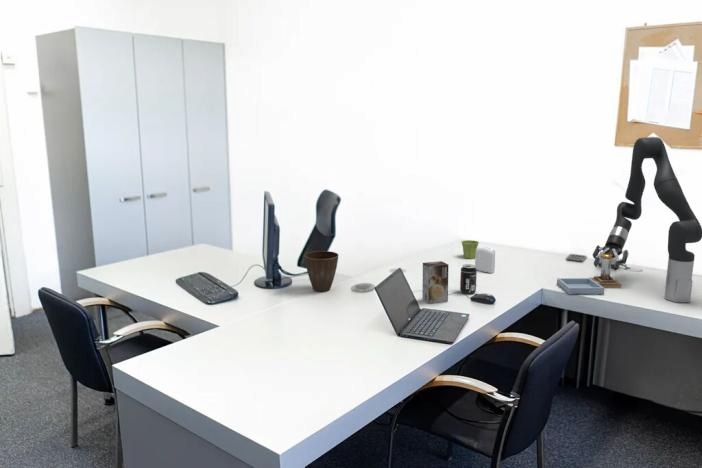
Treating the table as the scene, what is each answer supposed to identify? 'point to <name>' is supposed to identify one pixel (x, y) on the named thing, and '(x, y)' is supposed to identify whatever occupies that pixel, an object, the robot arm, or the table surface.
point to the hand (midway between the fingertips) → (604, 267)
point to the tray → (580, 286)
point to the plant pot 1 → (321, 269)
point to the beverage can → (468, 279)
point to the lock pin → (606, 266)
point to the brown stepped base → (607, 282)
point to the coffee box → (435, 282)
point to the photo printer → (485, 259)
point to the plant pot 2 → (469, 248)
